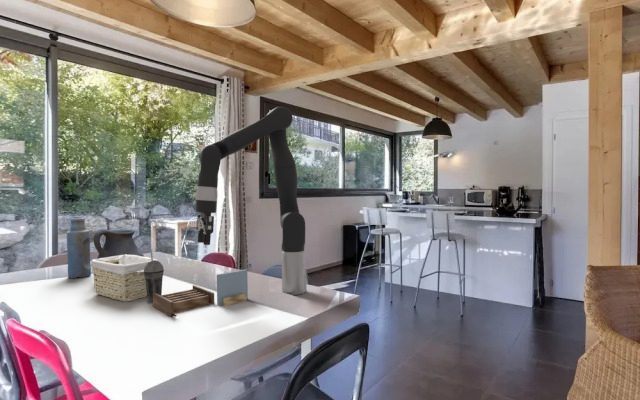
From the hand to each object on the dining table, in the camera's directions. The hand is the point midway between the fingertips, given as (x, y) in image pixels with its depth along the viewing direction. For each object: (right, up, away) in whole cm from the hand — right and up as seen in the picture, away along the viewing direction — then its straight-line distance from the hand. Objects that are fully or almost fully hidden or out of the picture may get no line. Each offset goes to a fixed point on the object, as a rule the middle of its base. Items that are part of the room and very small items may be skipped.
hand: (203, 243), depth 137 cm
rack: (-7, -23, -1) cm, 24 cm away
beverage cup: (-21, -23, +6) cm, 32 cm away
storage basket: (-37, -23, +16) cm, 46 cm away
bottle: (-78, -22, +50) cm, 95 cm away
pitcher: (-53, -22, +42) cm, 71 cm away
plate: (+11, -22, +1) cm, 24 cm away
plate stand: (+11, -23, +1) cm, 25 cm away
